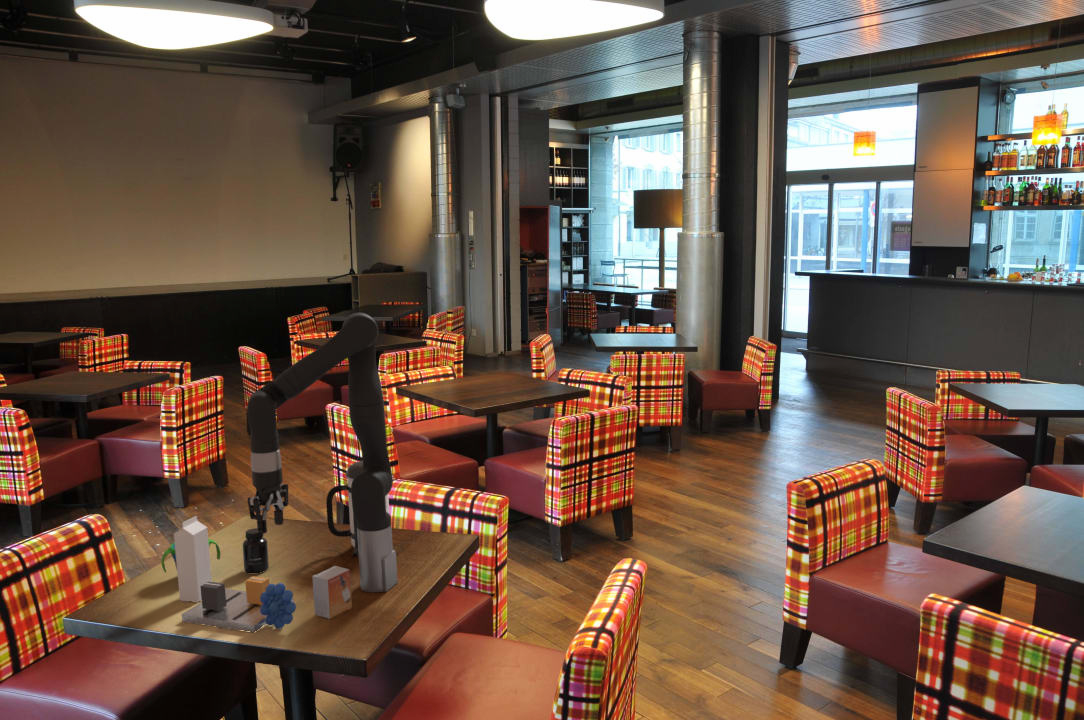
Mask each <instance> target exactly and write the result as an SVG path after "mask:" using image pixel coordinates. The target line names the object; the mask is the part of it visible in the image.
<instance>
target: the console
mask: <svg viewBox="0 0 1084 720" xmlns="http://www.w3.org/2000/svg"><path fill="white" fill-rule="evenodd" d="M225 594H226V605H227V606H226V607H224V608H222V609H221V610H219V611H216V610H209V609H203V608H202V601H201V602H199V604H196V605H195V606H193V607H191V608H189V609H188V610H186V611H185V612H183V613H181V622H182V623H188V622H189V624H194V623H197V624H196V625H200V624H205V625H204V626H206V625H210V626H209V627H213V626H216V627H215V628H219V627H222V628H221V629H225V628H230V629H229V630H231V629H236V630H235V631H238V630H244V631H250V632H255V631H257V630H258V629H260V628H261V627H262V626H263V625H265V624H267V623H266V622H265V619H266V616H267V615H266V616H265V615H262V614H261V613H260V608H261V606H262V605H259V604H252V603H247V595H246V590H238V589H232V588H231V589H230V588H225ZM291 602H294V603H295V599H294V597H293V598H292V600H291ZM267 625H268V624H267ZM265 626H266V625H265ZM261 629H262V628H261ZM261 629H260V630H261ZM244 631H243V632H244ZM258 631H259V630H258ZM258 631H257V632H258ZM250 632H249V633H250Z"/></svg>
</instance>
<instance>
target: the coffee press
mask: <svg viewBox="0 0 1084 720" xmlns="http://www.w3.org/2000/svg"><path fill="white" fill-rule="evenodd" d="M362 471H363V458H362V460H359V461H356V462H353V463H352V464H350V465H349V466H348V467H347V469H346V471H345V477H346V481H347V483H346V484H338V485H336V486H333V487H332V488H330V490H329V491H328V493H327V496H326V504H325V505H326V517H327V518H326V521H327V527H328V531H329V532H330V533H331V534H332V535H334V536H335V537H340V538H341V537H342V538H343V537H345V538H346V537H350V543H351V546H352V547H353V551H352V556H354V557H359V554H358V537H357V523H356V521H355V519H354V515H353V507H352V497H351V485H352V481H353V479H354V478H355V477H356V476H357V475H358V474H359V473H361V472H362ZM392 478H393V479H394V475H393V474H392ZM342 491H346V492H347V496H348V510H349V512H348V514H349V529H346V530H339V529H337V528H336V527H335V523H334V511H333V508H334V507H333V498H334V496H335V494H336V493H339V492H342ZM384 501H385V511H386V512H388V513H389V514H390V505H389V503H390V501H389V493H388V494H387V495H386V496H385V497H384Z"/></svg>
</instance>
